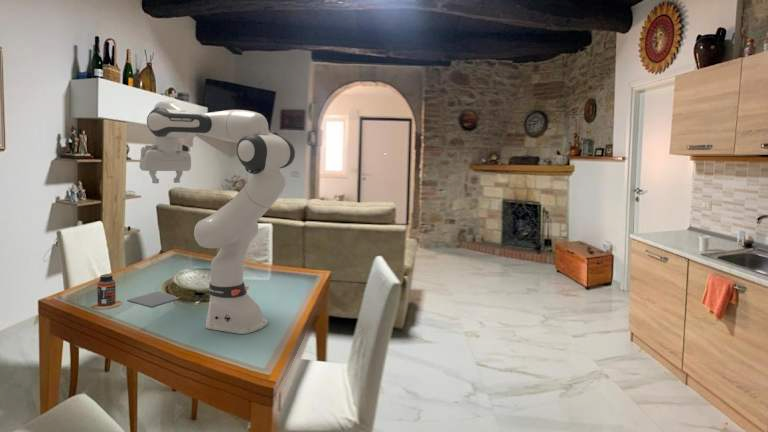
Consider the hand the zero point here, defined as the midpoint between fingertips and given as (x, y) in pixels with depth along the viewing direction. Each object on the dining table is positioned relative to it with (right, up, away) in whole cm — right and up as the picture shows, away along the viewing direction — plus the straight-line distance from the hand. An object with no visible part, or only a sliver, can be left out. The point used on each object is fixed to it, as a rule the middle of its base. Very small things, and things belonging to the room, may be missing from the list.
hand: (166, 183), depth 172 cm
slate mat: (-10, -46, +12) cm, 49 cm away
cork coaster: (-24, -47, +3) cm, 53 cm away
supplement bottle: (-24, -47, +3) cm, 53 cm away
